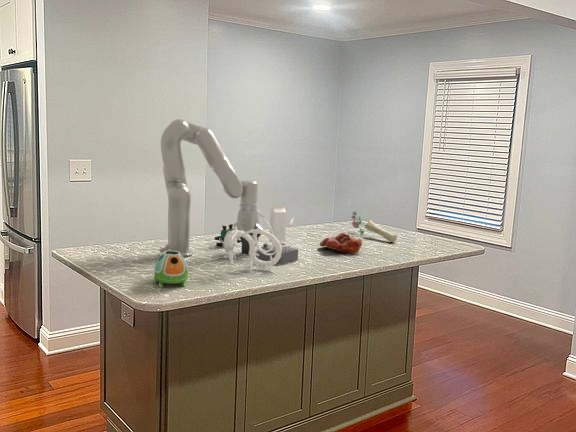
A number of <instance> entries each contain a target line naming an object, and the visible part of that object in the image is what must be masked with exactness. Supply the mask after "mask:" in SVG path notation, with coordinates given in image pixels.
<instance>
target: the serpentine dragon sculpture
mask: <svg viewBox="0 0 576 432" xmlns="http://www.w3.org/2000/svg"><path fill="white" fill-rule="evenodd" d="M257 212H258V217H260V219H262V220H265V222H266V224H267V225H268V226H269V229H270V228H271V226H270V222H268V220H267V219H266V218H265V214H264V213H263V212H262V211H261V210H259V209H258V208H257ZM294 218H295V216H294V217H292V219H290V221H289V223H288V226H287V227H288V228H287V230H286V231H285V236H284V238H283V240H282V242H281V244H282V243H283V241H284V239H285V240H286V236H287V234H288V233H289V229H290V228H292V226H293V223H294ZM242 230H243V229H242ZM242 230H241V231H240V230H237V227H236V226H235V228H234V230H232V231H230V232H229V233H228V232H227V234H226V236H225V237H226V238H225V237H224V242H223V241H222V242H221V243H223V244H224V246H225V247H224V246H222V247H223V248H224V251H225V252H226V254H225V255H224V256H223V258H224V259H225V258H228V260H229V262H230V263H232V264H233V263H234V259H235V261H237V257H236V254H235V251H234V246H235V242H236V241H237V240H240V241H241V239H240V237H243V238H245V239H246V240H247V241H248V242H249V247H250V249H249V255H248V256H249V257H250V261H249V273H252V271H253V265H254V264H255V265H256V266H257V269H259V266H260V267H265V268H266V269H267V270H269V268H270V269H271V268H272V266H274V265H275V264H278V263H277V262H278V261H279V259H280V258H281V257H282V256H281V253H282V248H281V244H280V243H279V241H278V240H277V238H276V237H275V236H274V234H273V231H272V228H271V231H272V234H273V235H272V234H270V232H269V231H266V230H264V229H263V230H259V229H255V230H253V229H252V230H250V231H247V232H244V231H242ZM248 233H253V238H254V239H253V238H252V236H251V235H249V234H248ZM257 234H261V235H262V236H265V237H267V238H268V239H271V240H272V241H273V246H272V248H271V249H270V250H268V251H265V250H263V249H261V247H262V246H260V242H259V239H258V240H257ZM234 239H235V240H234ZM255 244H256V246H255ZM274 244H275V246H276V251H275V252H274V253H272V254H267V253H266V252H269V251H271V250H272V249H273V247H274ZM256 248H257V251H258V252H259V251H260V252H261V253H263V254H265V255H270V259H271V260H270V261H267V260H262V259H259V258H257V257H256V256H260V255H259V254H258V253H256ZM275 253H276V255H275V257H274V258H272V256H271V255H273V254H275ZM268 267H269V268H268Z"/></svg>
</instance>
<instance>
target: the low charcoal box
mask: <svg viewBox="0 0 576 432" xmlns="http://www.w3.org/2000/svg"><path fill="white" fill-rule="evenodd" d="M279 243H280V244H281V242H279ZM272 246H273V242H265V243H263V245H262V246H260V247H261V249H263V250H265V251H268V250H270V249H271V248H272ZM291 246H292V245H291V243H289V242H286V241H285V242H283V243H282V244H281V248H282V253H281V256H282V257H281V258H280V259H279V261H278V262H277V263H276V264H280V265H284V264H289V263H292V261H293V262H296V261H298V260H299V249H298V248H295V247H291ZM275 251H276V246H275V244H274V247H273V249H272V250H271V251H269V252H266V253H267V254H272V253H274V252H275ZM257 254H259V255H260V256H258V255H257V256H258V258H257V259H258V260H262V261H270V260H271V259H270V255H265V254H263V253H261V252H260V251H259V250H258V253H257ZM275 255H276V253H275V254H273V255H271V256H272V258H274V257H275ZM288 262H289V263H288Z"/></svg>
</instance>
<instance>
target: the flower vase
mask: <svg viewBox="0 0 576 432" xmlns="http://www.w3.org/2000/svg"><path fill="white" fill-rule="evenodd" d="M357 216H358V213H357V211H356V210H354V211H353V212H352V215H351V216H350V218H351V220H352V222H351V224H352V227H353V228H354V229H358V228H360V226H364V229H362V228H360V229H359V230H358V232H359V233H360V236H362V235H363V233H364V234H365V229H366V231H368V232H372V233H374V234H377V235H380V236H381V237H382V238H384V239H385V240H387V242H389V243H391V242H394V243H395V242H396V241H397V239H398V236H397V234H395V233H392V232H390V231H388V230H385V229H383V228H382V227H380V226H379V225H377V224H376V223H375V222H373V221H372V220H371V219H370V220H369V221H368V222H366V224H365V223H364V222H363V221H362V220H361V216H359V217H357Z"/></svg>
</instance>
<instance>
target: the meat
mask: <svg viewBox="0 0 576 432" xmlns="http://www.w3.org/2000/svg"><path fill="white" fill-rule="evenodd" d="M319 246H320V247H326V248H328V249H332V250H333V251H334V250H335V251H337V252H340V253H343V254H348V255H354V254H353V253H357V254H358V253H359V252H360V250H361V247H362V246H363V240H362V239H361V238H356V237H352V236H351V235H350V233H348V232H342V233H341V232H340V233H339V234H337V235H336V236H334V235H333V236H331V237H325V238H324V239H323V240H320V242H319Z"/></svg>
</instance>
